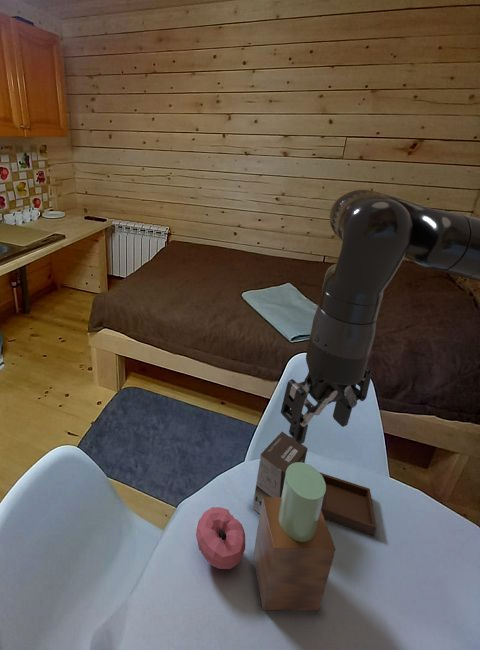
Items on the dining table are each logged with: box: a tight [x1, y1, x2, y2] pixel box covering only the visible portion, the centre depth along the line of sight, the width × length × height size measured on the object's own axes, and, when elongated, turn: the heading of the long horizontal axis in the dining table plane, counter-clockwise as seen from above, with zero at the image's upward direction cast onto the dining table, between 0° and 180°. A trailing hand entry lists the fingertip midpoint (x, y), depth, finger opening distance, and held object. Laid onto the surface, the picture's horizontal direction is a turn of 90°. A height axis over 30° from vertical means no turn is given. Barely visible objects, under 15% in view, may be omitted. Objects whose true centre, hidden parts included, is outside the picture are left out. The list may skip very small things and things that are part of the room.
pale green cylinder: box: [278, 462, 326, 542], centre depth 57 cm, size 6×6×10 cm
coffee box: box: [252, 431, 308, 515], centre depth 75 cm, size 9×6×16 cm
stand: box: [252, 497, 337, 612], centre depth 61 cm, size 10×8×17 cm
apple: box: [195, 506, 246, 570], centre depth 66 cm, size 10×9×10 cm
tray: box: [318, 471, 377, 537], centre depth 77 cm, size 12×9×3 cm
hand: (318, 430), depth 52 cm, fingers open, 8 cm apart
